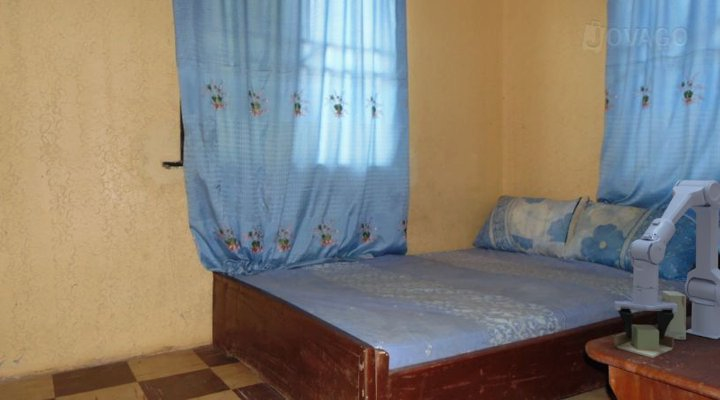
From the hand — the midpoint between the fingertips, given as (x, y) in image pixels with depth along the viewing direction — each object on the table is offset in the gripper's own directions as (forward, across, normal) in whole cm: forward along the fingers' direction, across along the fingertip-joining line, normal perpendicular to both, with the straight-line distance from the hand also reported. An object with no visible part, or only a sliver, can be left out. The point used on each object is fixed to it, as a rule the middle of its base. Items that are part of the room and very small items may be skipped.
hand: (644, 337), depth 140 cm
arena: (+3, 0, +1) cm, 3 cm away
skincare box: (+3, +11, +12) cm, 17 cm away
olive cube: (+2, 0, 0) cm, 2 cm away
